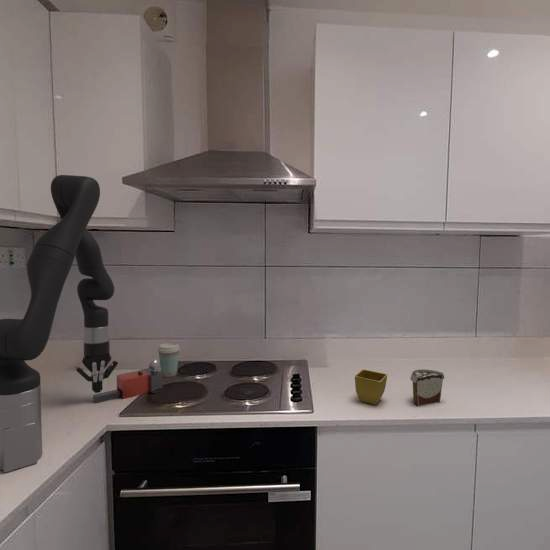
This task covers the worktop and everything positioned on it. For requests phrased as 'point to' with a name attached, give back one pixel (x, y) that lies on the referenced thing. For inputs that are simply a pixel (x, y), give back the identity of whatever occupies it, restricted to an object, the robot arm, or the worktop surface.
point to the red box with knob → (133, 383)
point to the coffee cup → (168, 358)
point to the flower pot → (370, 386)
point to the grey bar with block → (155, 383)
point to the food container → (426, 386)
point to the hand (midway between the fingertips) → (97, 392)
